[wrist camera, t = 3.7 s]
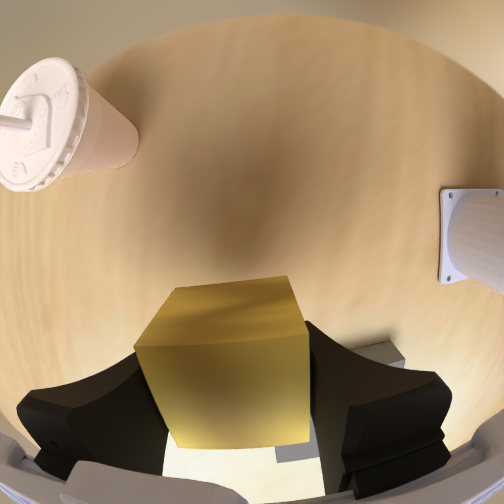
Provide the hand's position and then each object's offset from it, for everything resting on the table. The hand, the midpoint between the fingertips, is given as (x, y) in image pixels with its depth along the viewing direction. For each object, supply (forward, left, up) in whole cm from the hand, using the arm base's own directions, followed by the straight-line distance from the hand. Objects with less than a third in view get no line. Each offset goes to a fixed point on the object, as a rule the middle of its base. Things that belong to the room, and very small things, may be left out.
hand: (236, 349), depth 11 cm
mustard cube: (0, 0, -2) cm, 2 cm away
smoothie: (+8, -11, -9) cm, 16 cm away
